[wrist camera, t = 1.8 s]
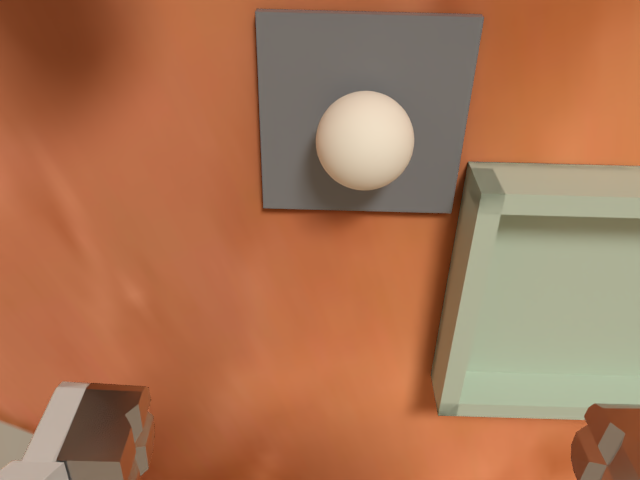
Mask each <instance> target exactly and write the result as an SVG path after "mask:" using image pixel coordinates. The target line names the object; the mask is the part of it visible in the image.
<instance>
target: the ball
mask: <svg viewBox="0 0 640 480" xmlns="http://www.w3.org/2000/svg"><path fill="white" fill-rule="evenodd" d="M413 148H414V131H413V127H412V124H411V121H410V119H409V117H408V115H407V113H406V112H405V110H404V109H403V108H402V107H401V106H400V105H399V104H398V103H397V102H396V101H395V100H393V99H392V98H390V97H388V96H387V95H384V94H382V93H378V92H374V91H358V92H353V93H350V94H347V95H345V96H343V97H341V98H339V99H338V100H336V101H335V102H334V103H332V104H331V105H330V107H329V108H328V109H327V110H326V111H325V113H324V114H323V116H322V118H321V120H320V122H319V125H318V128H317V133H316V150H317V155H318V158H319V160H320V163H321V164H322V166H323V168H324V169H325V171H326V172H327V173H328V174H329V175H330V177H331V178H333V179H334V180H335V181H336V182H338V183H339V184H341V185H343V186H345V187H348V188H351V189H355V190H374V189H378V188H381V187H384V186H386V185H388V184H389V183H391V182H392V181H394V180H395V179H396V178H398V177H399V176H400V175H401V174H402V172H403V171H404V170H405V168H406V167H407V165H408V163H409V161H410V159H411V156H412V153H413Z"/></svg>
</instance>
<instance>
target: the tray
mask: <svg viewBox="0 0 640 480" xmlns="http://www.w3.org/2000/svg"><path fill="white" fill-rule="evenodd" d="M431 379H432V385H433V390H434V396H435V401H436V407H437V412H438V416H471V417H505V418H538V419H572V420H585V418H584V415H585V413H586V411H587V409H588V407H590V406H591V405H593V404H594V403H601V404H639V405H640V166H613V165H576V164H538V163H500V162H468V165H467V171H466V177H465V182H464V188H463V194H462V200H461V205H460V211H459V217H458V222H457V228H456V234H455V239H454V245H453V251H452V257H451V262H450V268H449V274H448V279H447V285H446V291H445V296H444V302H443V308H442V313H441V319H440V325H439V331H438V336H437V342H436V348H435V353H434V359H433V365H432V370H431Z"/></svg>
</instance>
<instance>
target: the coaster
mask: <svg viewBox="0 0 640 480" xmlns="http://www.w3.org/2000/svg"><path fill="white" fill-rule="evenodd" d="M255 16H256V40H257V65H258V89H259V114H260V138H261V163H262V187H263V208H273V209H310V210H347V211H383V212H420V213H451V212H452V206H453V200H454V194H455V188H456V182H457V176H458V170H459V164H460V159H461V153H462V147H463V141H464V135H465V129H466V123H467V117H468V111H469V105H470V99H471V93H472V87H473V81H474V75H475V69H476V63H477V57H478V51H479V45H480V39H481V33H482V27H483V21H484V17H483V15H482V14H451V13H410V12H369V11H329V10H288V9H256V11H255ZM358 91H374V92H378V93H382V94H384V95H387V96H388V97H390V98H392V99H393V100H395V101H396V102H397V103H398V104H399V105H400V106H401V107H402V108H403V109H404V110H405V112H406V113H407V115H408V117H409V119H410V121H411V124H412V127H413V131H414V148H413V153H412V156H411V159H410V161H409V163H408V165H407V167H406V168H405V170H404V171H403V172H402V174H401V175H400V176H399V177H398V178H396V179H395V180H394V181H392V182H391V183H389V184H388V185H386V186H384V187H381V188H378V189H374V190H355V189H351V188H348V187H345V186H343V185H341V184H339V183H338V182H336V181H335V180H334V179H333V178H331V177H330V175H329V174H328V173H327V172H326V171H325V169H324V168H323V166H322V164H321V163H320V160H319V158H318V155H317V150H316V133H317V128H318V125H319V122H320V120H321V118H322V116H323V114H324V113H325V111H326V110H327V109H328V108H329V107H330V105H331V104H332V103H334V102H335V101H336V100H338V99H339V98H341V97H343V96H345V95H347V94H350V93H353V92H358Z"/></svg>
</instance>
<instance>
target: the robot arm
mask: <svg viewBox="0 0 640 480" xmlns="http://www.w3.org/2000/svg"><path fill="white" fill-rule="evenodd" d="M150 402H151V396H150V390H149V387H146V386H133V385H117V384H102V383H82V382H64V381H62V383H61V384H60V385H59V386H58V387H57V388H56V389H55V391H54V393H53V395H52V397H51V399H50V401H49V403H48V405H47V408H46V410H45V412H44V414H43V416H42V418H41V420H40V422H39V424H38V426H37V428H36V431H35V433H34V435H33V437H32V439H31V441H30V443H29V445H28V447H27V449H26V451H25V454H24V456H23V458H22V460H16V461H15V460H13V461H11V462H10V463H8V464H7V465H6V466H4V467H3V468H2V469H1V470H0V480H141V478H140V476H141V475H142V474H143V473H144V472H145V471H147V470H148V469H149V465H150V461H151V457H152V453H153V445H154V438H155V424H154V416H153V415H152V414H150V413H149V412H148V409H149V406H150ZM584 418H585V420H586V422H587V424H588V425H587V426H585V427H583V428H582V429H580V430H579V431H577V432H576V434H575V437H574V439H573V441H572V444H571V461H572V466H573V471H574V473H575V476H576V478H577V480H640V405H639V404H601V403H594V404H593V405H591V406H590V407H588V409H587V411H586V413H585V415H584Z"/></svg>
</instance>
